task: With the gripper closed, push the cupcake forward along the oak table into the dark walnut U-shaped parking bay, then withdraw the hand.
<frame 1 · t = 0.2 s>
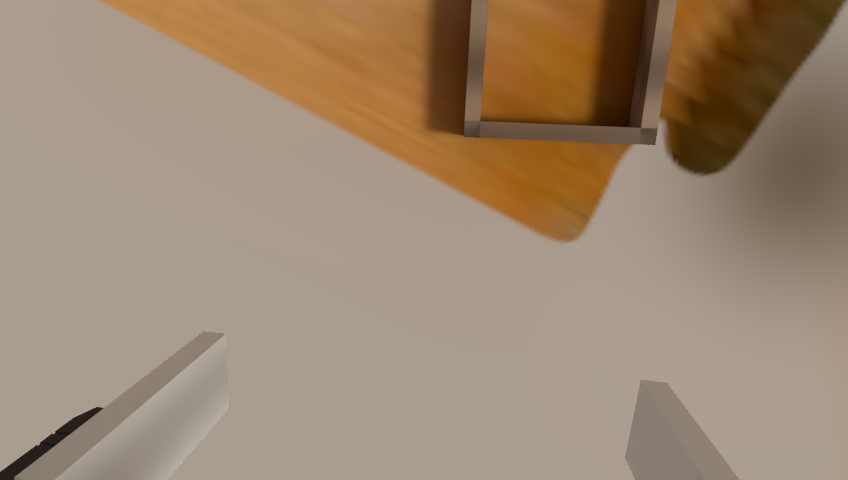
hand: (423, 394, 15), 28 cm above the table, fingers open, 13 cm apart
bay: (559, 59, 38), on the table
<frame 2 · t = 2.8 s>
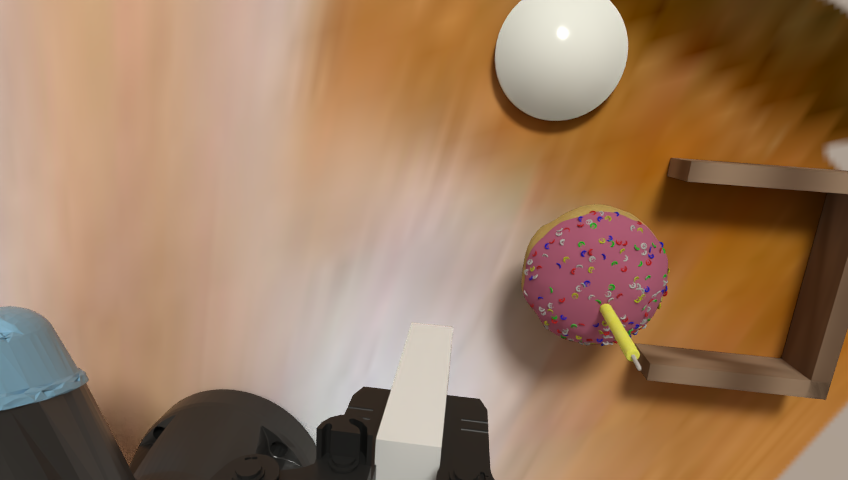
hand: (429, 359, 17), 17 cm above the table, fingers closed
cupcake: (575, 256, 33), on the table
white round domed disc: (558, 55, 30), on the table
bay: (726, 270, 32), on the table
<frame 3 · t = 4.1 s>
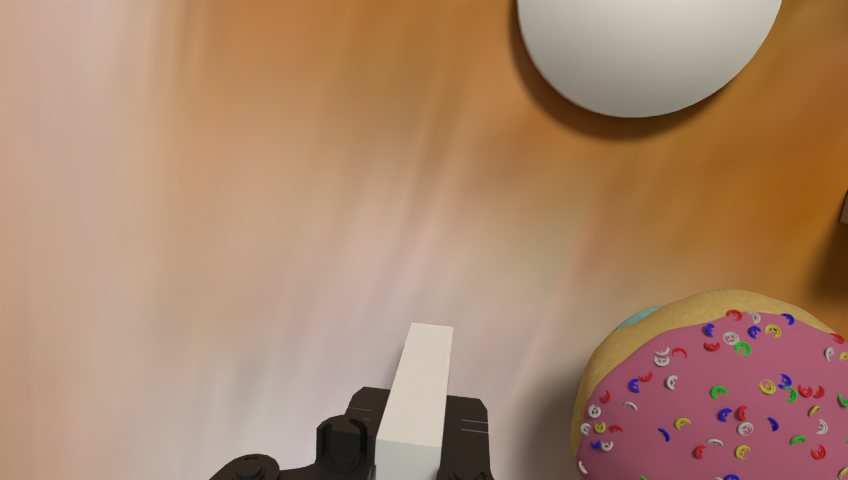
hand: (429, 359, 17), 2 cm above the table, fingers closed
cupcake: (657, 359, 19), on the table
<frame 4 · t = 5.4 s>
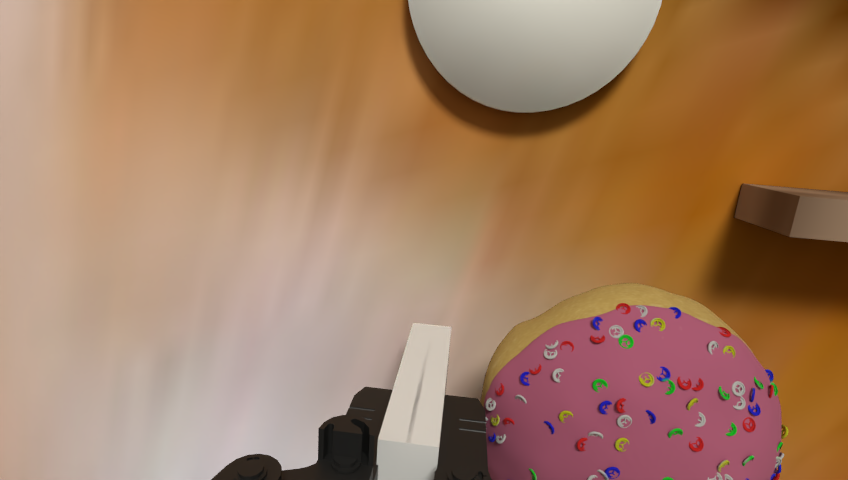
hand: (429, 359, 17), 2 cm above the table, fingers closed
cupcake: (583, 354, 19), on the table, touching gripper
bay: (836, 386, 18), on the table
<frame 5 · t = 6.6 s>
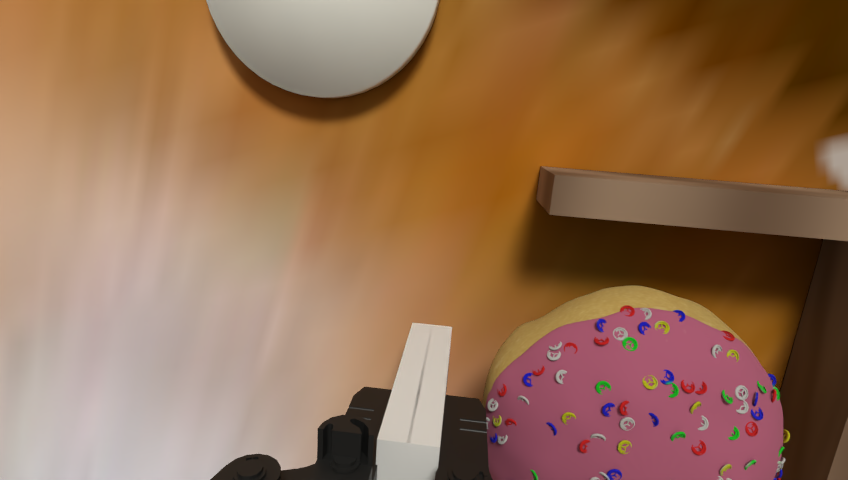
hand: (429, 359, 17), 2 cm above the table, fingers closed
cupcake: (584, 356, 19), on the table, touching gripper
bay: (647, 364, 18), on the table
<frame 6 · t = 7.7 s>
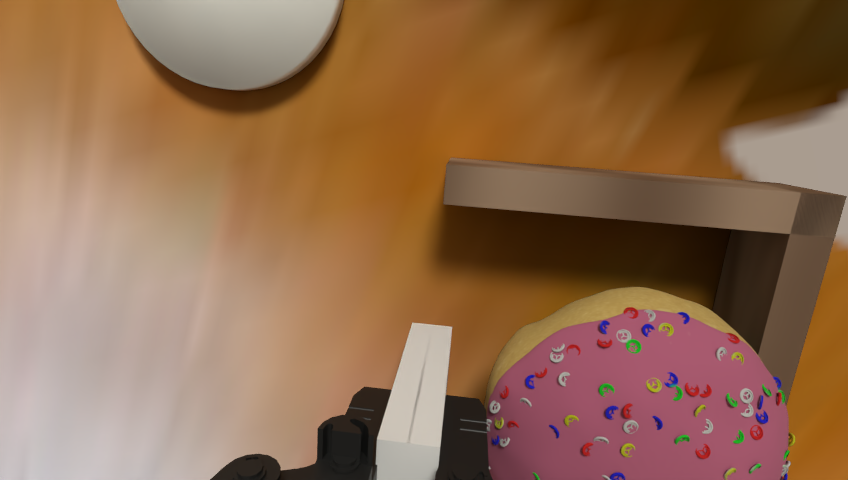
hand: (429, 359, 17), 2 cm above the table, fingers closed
cupcake: (587, 357, 19), on the table, touching gripper
bay: (564, 355, 18), on the table
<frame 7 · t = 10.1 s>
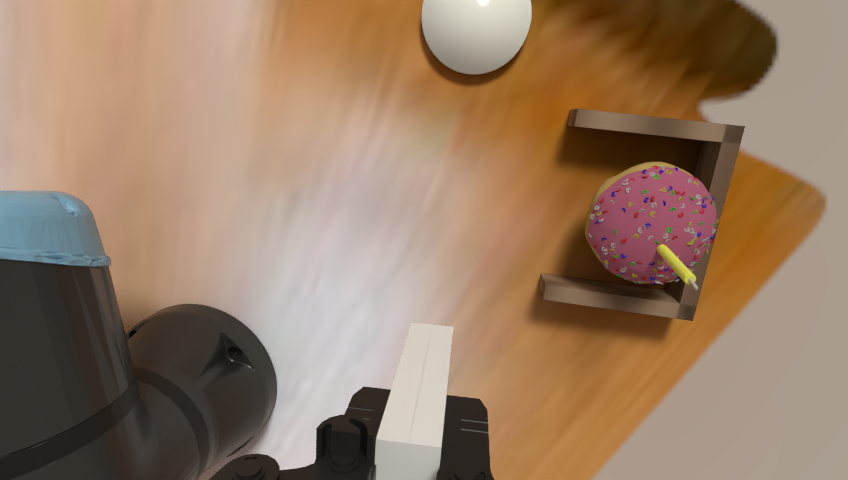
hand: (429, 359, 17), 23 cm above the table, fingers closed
cupcake: (629, 212, 38), on the table
white round domed disc: (475, 18, 36), on the table
bay: (617, 210, 38), on the table
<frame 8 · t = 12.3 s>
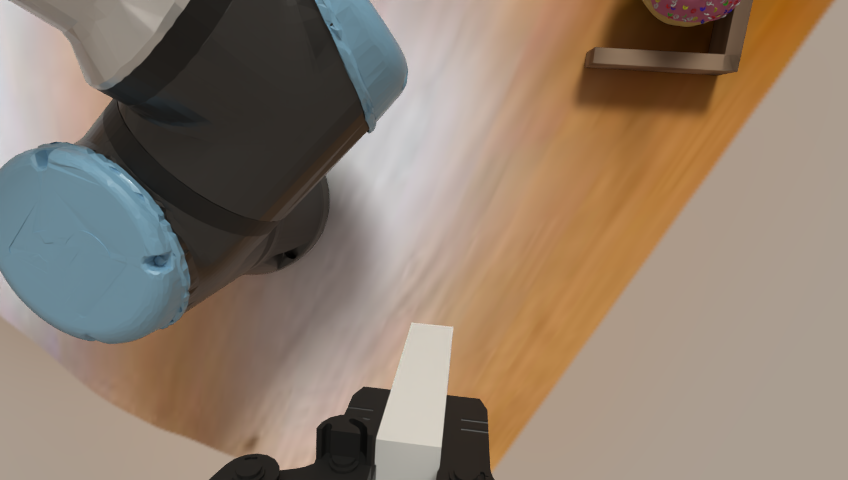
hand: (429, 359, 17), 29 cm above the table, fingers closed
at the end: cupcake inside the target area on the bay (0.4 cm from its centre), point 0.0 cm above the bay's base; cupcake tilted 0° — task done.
